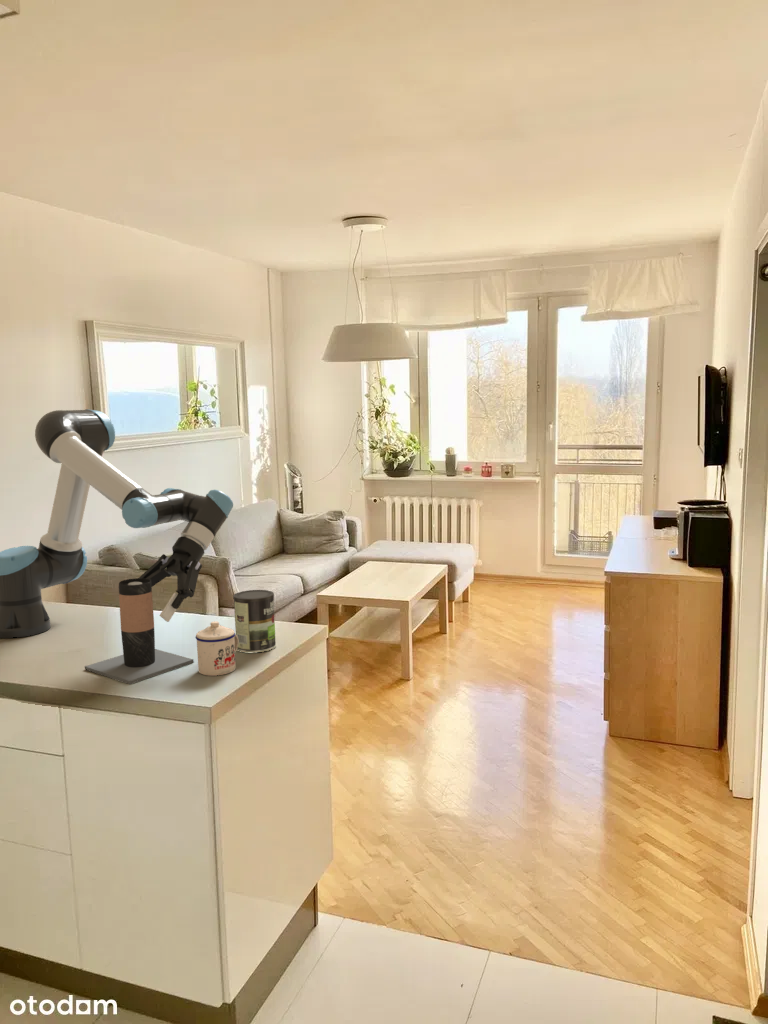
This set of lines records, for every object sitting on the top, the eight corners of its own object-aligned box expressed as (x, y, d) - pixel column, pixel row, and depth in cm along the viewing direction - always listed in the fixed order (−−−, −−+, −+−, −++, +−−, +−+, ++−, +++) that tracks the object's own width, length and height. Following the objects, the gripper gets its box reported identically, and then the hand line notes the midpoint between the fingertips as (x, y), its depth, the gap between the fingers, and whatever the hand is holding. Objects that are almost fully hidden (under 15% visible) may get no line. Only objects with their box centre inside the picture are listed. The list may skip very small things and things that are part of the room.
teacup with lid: (218, 679, 177) (215, 629, 176) (189, 672, 182) (186, 624, 180) (252, 663, 187) (250, 616, 186) (224, 658, 192) (222, 612, 191)
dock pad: (84, 669, 186) (84, 666, 186) (148, 650, 200) (147, 647, 200) (130, 684, 175) (129, 680, 175) (193, 662, 189) (193, 659, 189)
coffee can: (281, 642, 204) (279, 589, 202) (268, 654, 194) (265, 599, 192) (244, 640, 206) (242, 588, 204) (229, 652, 196) (226, 598, 194)
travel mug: (163, 659, 189) (158, 579, 187) (140, 669, 183) (135, 586, 180) (138, 655, 193) (134, 577, 190) (116, 665, 186) (110, 583, 183)
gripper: (234, 557, 192) (189, 630, 183) (171, 548, 207) (126, 615, 198) (216, 539, 187) (168, 613, 178) (153, 531, 203) (106, 599, 193)
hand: (146, 614), depth 188 cm, fingers open, 13 cm apart
